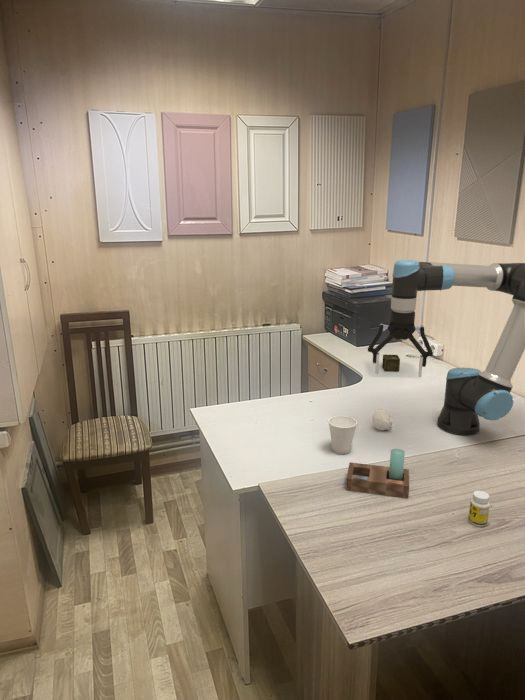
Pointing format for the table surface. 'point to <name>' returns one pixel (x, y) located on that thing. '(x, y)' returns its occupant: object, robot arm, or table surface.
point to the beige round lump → (382, 420)
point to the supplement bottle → (479, 508)
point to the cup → (342, 433)
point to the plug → (396, 464)
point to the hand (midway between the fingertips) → (398, 374)
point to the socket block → (376, 480)
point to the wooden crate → (391, 363)
